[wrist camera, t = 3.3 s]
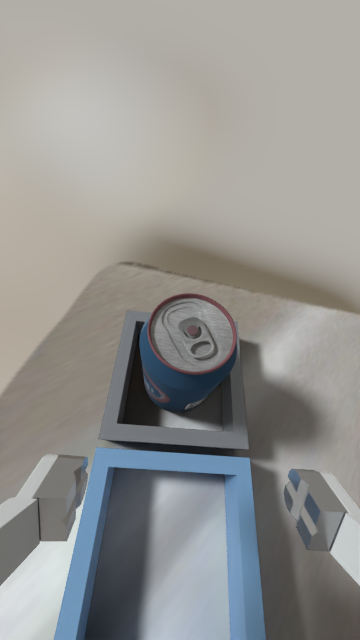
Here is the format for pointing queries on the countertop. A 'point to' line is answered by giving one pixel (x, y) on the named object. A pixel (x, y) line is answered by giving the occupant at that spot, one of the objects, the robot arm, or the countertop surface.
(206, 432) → the frame
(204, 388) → the soda can
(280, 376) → the countertop surface
